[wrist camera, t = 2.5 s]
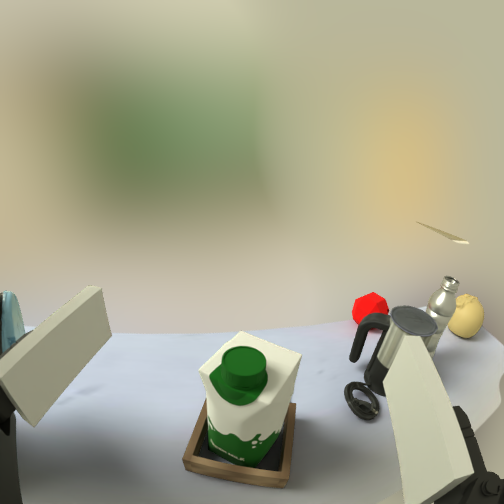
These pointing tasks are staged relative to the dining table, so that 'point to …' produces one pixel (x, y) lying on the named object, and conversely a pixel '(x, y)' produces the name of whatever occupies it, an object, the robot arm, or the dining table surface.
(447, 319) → the plastic bottle
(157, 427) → the dining table surface
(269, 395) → the soya milk
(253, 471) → the holder
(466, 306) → the pale yellow rounded lump
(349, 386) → the milk frother
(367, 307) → the ball
